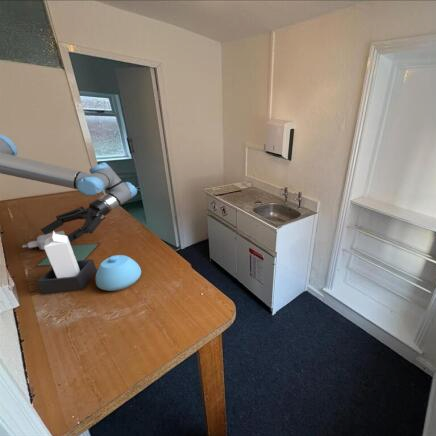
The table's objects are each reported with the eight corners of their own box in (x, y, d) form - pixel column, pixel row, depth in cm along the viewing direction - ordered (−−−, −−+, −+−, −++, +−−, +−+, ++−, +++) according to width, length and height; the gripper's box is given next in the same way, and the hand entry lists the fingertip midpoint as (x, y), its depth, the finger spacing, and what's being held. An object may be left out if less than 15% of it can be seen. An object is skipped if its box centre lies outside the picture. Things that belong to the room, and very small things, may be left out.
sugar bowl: (110, 299, 86) (101, 273, 81) (90, 284, 92) (81, 260, 88) (149, 277, 98) (144, 254, 93) (129, 265, 104) (123, 243, 100)
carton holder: (43, 294, 86) (37, 281, 84) (62, 274, 97) (57, 262, 94) (82, 289, 89) (77, 277, 87) (96, 270, 100) (92, 259, 97)
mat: (37, 266, 100) (36, 265, 100) (59, 247, 114) (59, 246, 114) (81, 262, 104) (81, 261, 104) (97, 244, 118) (97, 243, 118)
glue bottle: (25, 247, 113) (66, 237, 122) (24, 255, 107) (67, 244, 116) (20, 238, 111) (63, 229, 120) (19, 246, 105) (64, 236, 114)
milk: (61, 288, 89) (39, 239, 80) (62, 279, 93) (41, 232, 84) (82, 282, 93) (63, 235, 83) (82, 274, 97) (64, 228, 87)
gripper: (127, 218, 105) (80, 252, 91) (90, 205, 112) (41, 234, 97) (119, 205, 100) (68, 239, 86) (80, 192, 107) (27, 221, 92)
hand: (53, 237), depth 91 cm, fingers open, 13 cm apart
